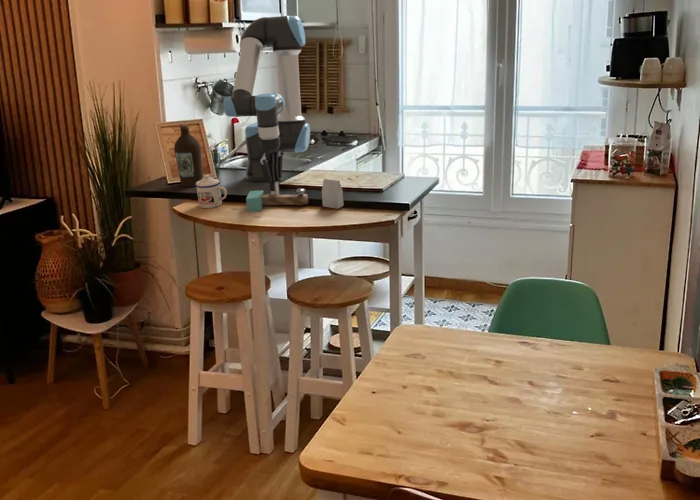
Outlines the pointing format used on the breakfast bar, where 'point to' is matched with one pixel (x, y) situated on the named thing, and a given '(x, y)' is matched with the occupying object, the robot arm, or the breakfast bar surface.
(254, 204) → the teal rectangular block
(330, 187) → the white paper bag
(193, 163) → the olive oil
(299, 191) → the pintle
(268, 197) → the walnut link
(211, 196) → the teacup with lid
